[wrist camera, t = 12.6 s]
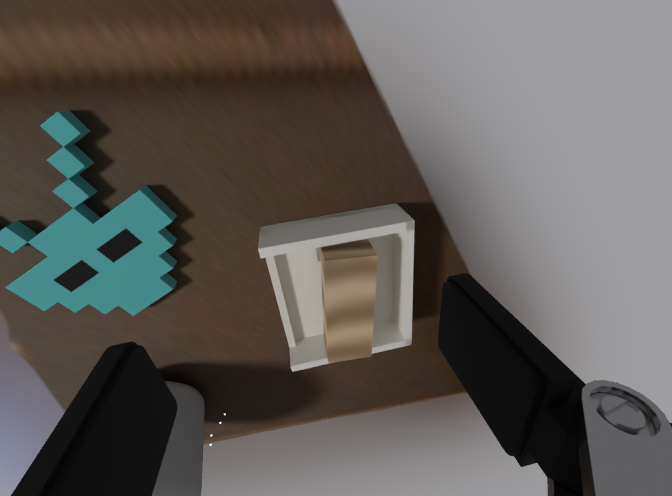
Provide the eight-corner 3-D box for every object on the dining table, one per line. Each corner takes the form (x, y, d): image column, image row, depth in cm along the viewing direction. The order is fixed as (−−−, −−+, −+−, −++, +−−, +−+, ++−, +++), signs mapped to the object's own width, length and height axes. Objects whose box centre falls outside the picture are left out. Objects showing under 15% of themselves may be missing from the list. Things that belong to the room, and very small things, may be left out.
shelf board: (319, 243, 35) (324, 260, 32) (368, 239, 36) (377, 255, 33) (324, 341, 43) (328, 363, 39) (363, 335, 44) (371, 356, 40)
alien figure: (-68, 221, 31) (103, 329, 41) (-91, 230, 29) (94, 341, 39) (72, 110, 29) (217, 252, 38) (57, 111, 27) (214, 261, 36)
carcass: (260, 226, 37) (258, 248, 32) (396, 203, 39) (414, 220, 34) (290, 340, 47) (292, 371, 42) (397, 317, 49) (411, 344, 44)
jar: (244, 403, 52) (223, 624, 31) (184, 443, 54) (124, 676, 33) (152, 349, 43) (30, 611, 22) (84, 400, 45) (-90, 684, 24)
